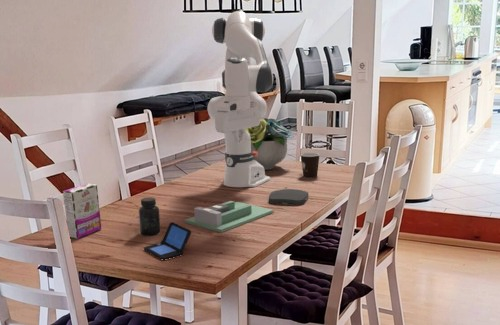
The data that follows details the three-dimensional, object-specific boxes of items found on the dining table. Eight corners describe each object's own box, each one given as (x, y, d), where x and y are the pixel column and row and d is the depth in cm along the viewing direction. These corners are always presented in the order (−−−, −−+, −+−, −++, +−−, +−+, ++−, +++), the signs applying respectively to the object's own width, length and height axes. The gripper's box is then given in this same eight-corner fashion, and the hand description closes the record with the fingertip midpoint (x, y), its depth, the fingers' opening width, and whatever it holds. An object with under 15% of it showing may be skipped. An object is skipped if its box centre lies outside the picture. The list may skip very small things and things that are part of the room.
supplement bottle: (142, 230, 206) (140, 196, 204) (162, 229, 206) (160, 196, 203) (138, 236, 200) (135, 202, 197) (158, 236, 199) (156, 201, 197)
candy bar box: (91, 227, 210) (87, 182, 207) (101, 229, 208) (98, 184, 204) (66, 237, 201) (62, 190, 198) (77, 239, 198) (72, 192, 195)
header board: (237, 204, 234) (237, 190, 232) (273, 212, 222) (273, 197, 221) (185, 222, 213) (184, 207, 212) (221, 232, 202) (220, 216, 200)
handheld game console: (142, 250, 187) (141, 228, 186) (172, 242, 194) (171, 220, 192) (162, 262, 178) (161, 238, 176) (193, 253, 184) (192, 230, 183)
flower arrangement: (264, 160, 310) (263, 113, 305) (301, 167, 293) (301, 117, 287) (229, 168, 293) (228, 119, 288) (266, 176, 276) (265, 124, 271)
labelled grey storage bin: (219, 215, 217) (219, 203, 216) (229, 218, 213) (229, 205, 212) (205, 220, 212) (205, 207, 211) (216, 223, 208) (215, 210, 207)
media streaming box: (275, 194, 247) (275, 187, 246) (310, 196, 243) (310, 189, 242) (266, 204, 233) (266, 197, 233) (303, 206, 229) (303, 199, 229)
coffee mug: (320, 177, 271) (320, 156, 269) (301, 178, 271) (301, 156, 269) (317, 171, 283) (317, 151, 280) (299, 172, 283) (299, 151, 281)
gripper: (250, 100, 223) (251, 136, 226) (211, 106, 208) (213, 145, 211) (263, 101, 219) (264, 138, 222) (224, 107, 204) (226, 147, 207)
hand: (238, 141), depth 216 cm, fingers closed
